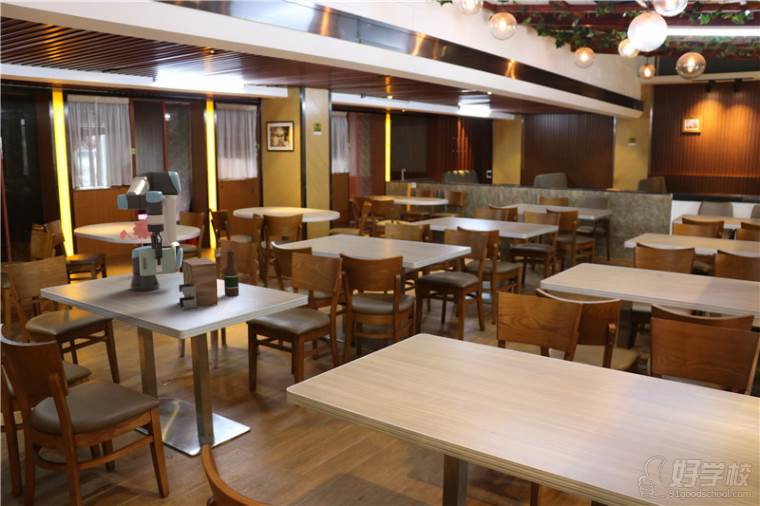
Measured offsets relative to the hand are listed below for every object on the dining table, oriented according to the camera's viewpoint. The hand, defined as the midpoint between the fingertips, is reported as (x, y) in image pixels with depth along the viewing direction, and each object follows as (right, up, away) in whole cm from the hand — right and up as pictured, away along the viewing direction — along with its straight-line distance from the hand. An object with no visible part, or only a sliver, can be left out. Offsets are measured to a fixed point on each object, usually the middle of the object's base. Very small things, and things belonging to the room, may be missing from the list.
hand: (157, 270), depth 316 cm
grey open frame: (+15, -19, -1) cm, 24 cm away
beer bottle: (+30, -14, +28) cm, 43 cm away
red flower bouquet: (-34, -6, +76) cm, 84 cm away
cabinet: (+18, -17, +12) cm, 27 cm away
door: (0, -1, 0) cm, 1 cm away
